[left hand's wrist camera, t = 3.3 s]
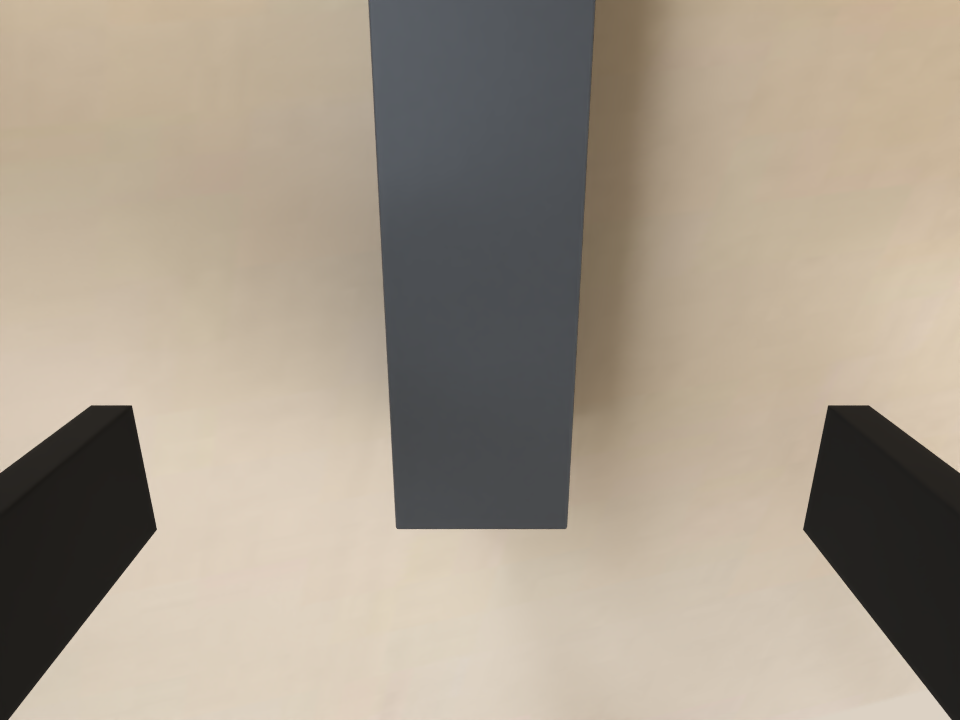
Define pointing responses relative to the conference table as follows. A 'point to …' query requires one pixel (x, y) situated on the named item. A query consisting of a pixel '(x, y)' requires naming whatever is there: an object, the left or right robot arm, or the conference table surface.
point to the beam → (481, 252)
